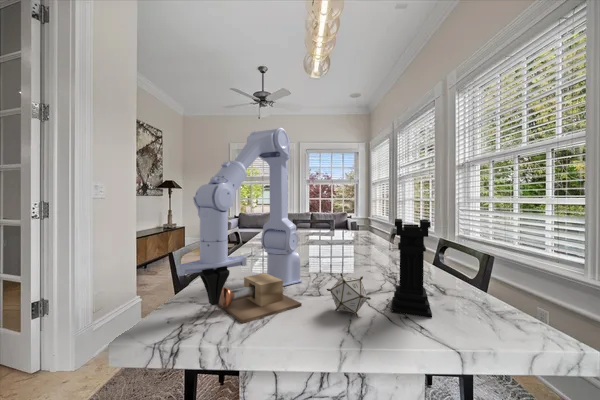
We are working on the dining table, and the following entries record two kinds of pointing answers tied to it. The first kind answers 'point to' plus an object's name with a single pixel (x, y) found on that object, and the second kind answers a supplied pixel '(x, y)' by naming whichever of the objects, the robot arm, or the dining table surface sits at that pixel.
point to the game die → (348, 294)
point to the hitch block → (261, 299)
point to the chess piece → (411, 270)
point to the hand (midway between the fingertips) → (213, 303)
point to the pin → (235, 294)
